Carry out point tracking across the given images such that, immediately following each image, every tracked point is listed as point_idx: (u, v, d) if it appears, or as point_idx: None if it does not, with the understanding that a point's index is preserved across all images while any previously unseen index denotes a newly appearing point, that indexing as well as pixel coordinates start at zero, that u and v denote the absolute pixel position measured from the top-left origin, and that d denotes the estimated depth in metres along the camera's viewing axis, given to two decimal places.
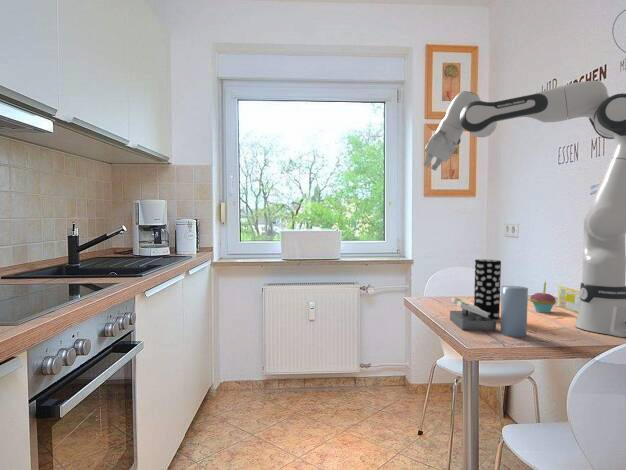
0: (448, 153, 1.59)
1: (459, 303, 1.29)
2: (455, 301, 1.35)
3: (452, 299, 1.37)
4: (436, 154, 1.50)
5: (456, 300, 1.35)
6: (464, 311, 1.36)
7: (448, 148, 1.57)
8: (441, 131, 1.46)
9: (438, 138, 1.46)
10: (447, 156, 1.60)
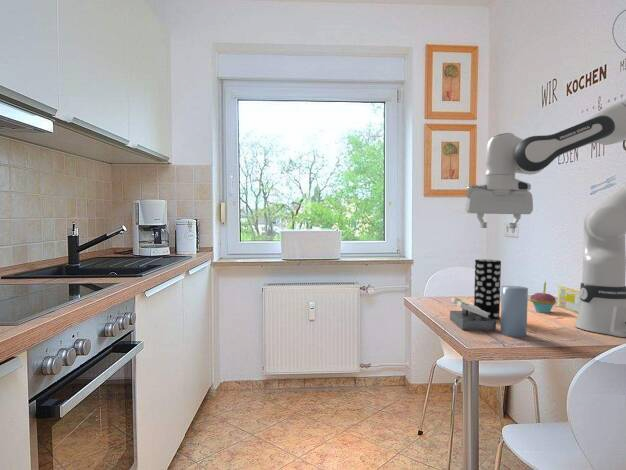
0: (521, 203, 1.30)
1: (459, 303, 1.29)
2: (455, 301, 1.35)
3: (452, 299, 1.37)
4: (483, 210, 1.30)
5: (456, 300, 1.35)
6: (464, 311, 1.36)
7: (514, 198, 1.30)
8: (472, 186, 1.32)
9: (470, 194, 1.31)
10: (525, 207, 1.30)
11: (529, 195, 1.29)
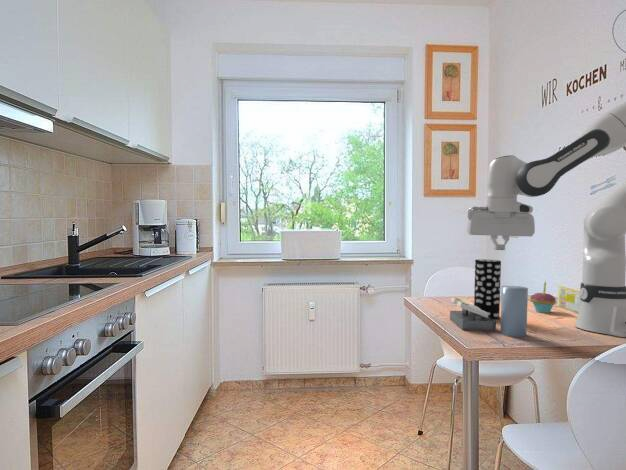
0: (522, 225, 1.30)
1: (459, 303, 1.29)
2: (455, 301, 1.35)
3: (452, 299, 1.37)
4: (483, 232, 1.30)
5: (456, 300, 1.35)
6: (464, 311, 1.36)
7: (515, 220, 1.30)
8: (473, 208, 1.32)
9: (471, 216, 1.32)
10: (526, 229, 1.30)
11: (531, 218, 1.29)
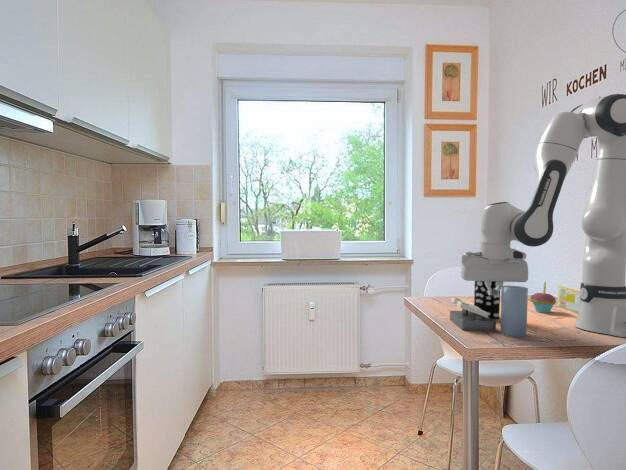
0: (516, 271, 1.30)
1: (459, 303, 1.29)
2: (455, 301, 1.35)
3: (452, 299, 1.37)
4: (477, 278, 1.31)
5: (456, 300, 1.35)
6: (464, 311, 1.36)
7: (509, 266, 1.30)
8: (467, 253, 1.32)
9: (465, 261, 1.32)
10: (520, 275, 1.30)
11: (524, 264, 1.29)
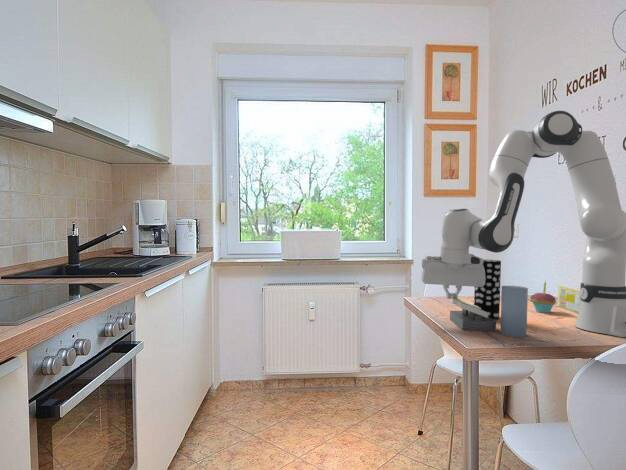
0: (473, 276, 1.34)
1: (459, 303, 1.29)
2: (455, 302, 1.35)
3: (452, 300, 1.37)
4: (436, 281, 1.35)
5: (456, 301, 1.35)
6: (464, 311, 1.36)
7: (467, 271, 1.35)
8: (427, 258, 1.36)
9: (425, 265, 1.36)
10: (477, 280, 1.34)
11: (481, 269, 1.33)
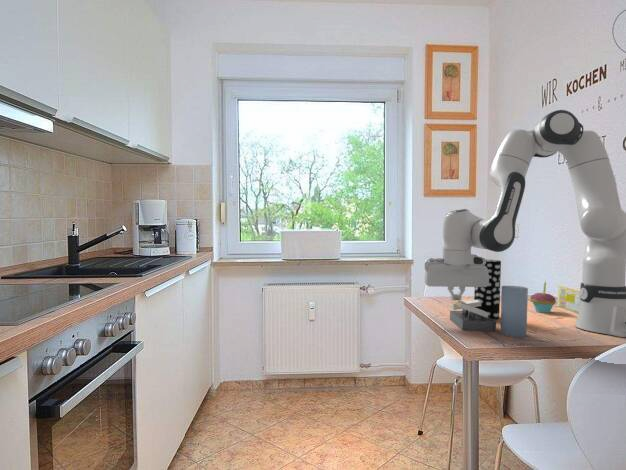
0: (477, 277, 1.34)
1: (459, 303, 1.29)
2: (454, 307, 1.35)
3: (451, 306, 1.37)
4: (440, 283, 1.34)
5: (455, 306, 1.35)
6: (464, 311, 1.36)
7: (470, 272, 1.34)
8: (429, 260, 1.35)
9: (428, 268, 1.35)
10: (481, 280, 1.34)
11: (485, 269, 1.33)
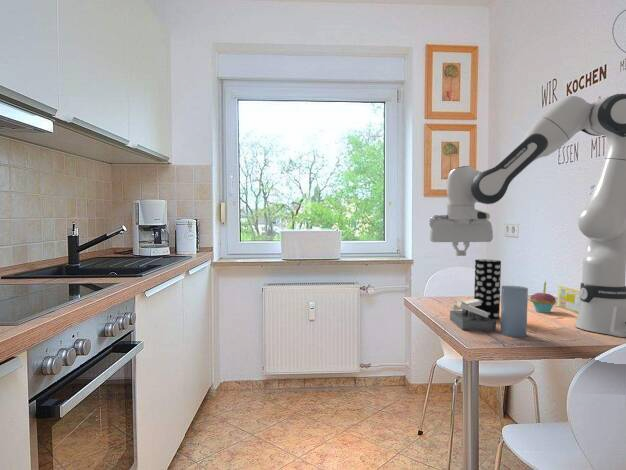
0: (481, 232, 1.37)
1: (459, 303, 1.29)
2: (454, 308, 1.35)
3: (451, 307, 1.37)
4: (445, 239, 1.37)
5: (455, 307, 1.35)
6: (464, 311, 1.36)
7: (474, 227, 1.37)
8: (434, 216, 1.39)
9: (433, 224, 1.38)
10: (485, 235, 1.37)
11: (488, 224, 1.36)
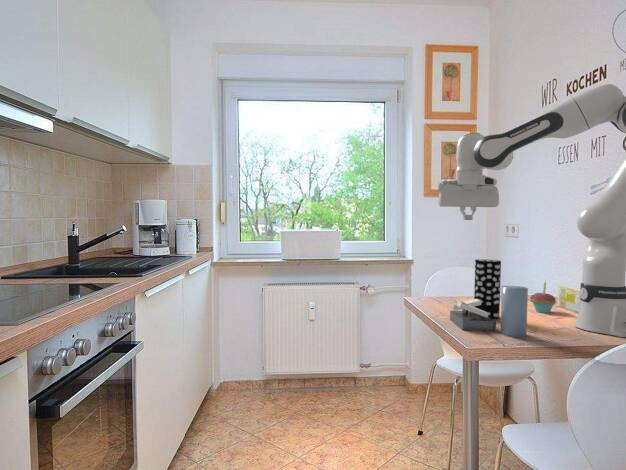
0: (488, 197, 1.42)
1: (459, 303, 1.29)
2: (454, 308, 1.35)
3: (451, 307, 1.37)
4: (453, 203, 1.43)
5: (455, 307, 1.35)
6: (464, 311, 1.36)
7: (481, 192, 1.43)
8: (443, 182, 1.44)
9: (441, 189, 1.44)
10: (491, 200, 1.42)
11: (495, 189, 1.41)
